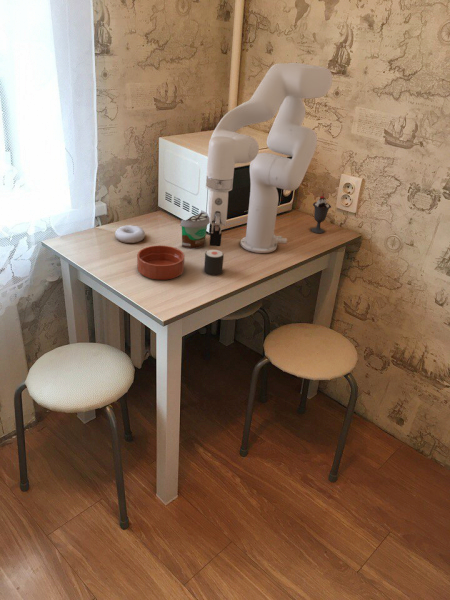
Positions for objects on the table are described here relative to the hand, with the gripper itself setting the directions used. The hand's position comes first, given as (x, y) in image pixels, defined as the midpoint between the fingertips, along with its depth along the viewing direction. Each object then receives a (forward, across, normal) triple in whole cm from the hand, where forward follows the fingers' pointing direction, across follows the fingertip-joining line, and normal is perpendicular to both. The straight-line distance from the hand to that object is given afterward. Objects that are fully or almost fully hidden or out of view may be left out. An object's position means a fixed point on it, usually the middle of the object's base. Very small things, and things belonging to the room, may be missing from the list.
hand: (214, 239), depth 153 cm
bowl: (+11, 0, +16) cm, 19 cm away
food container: (+11, +20, +5) cm, 23 cm away
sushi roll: (+11, 0, 0) cm, 11 cm away
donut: (+11, +22, +28) cm, 37 cm away
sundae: (+10, +38, -40) cm, 57 cm away
